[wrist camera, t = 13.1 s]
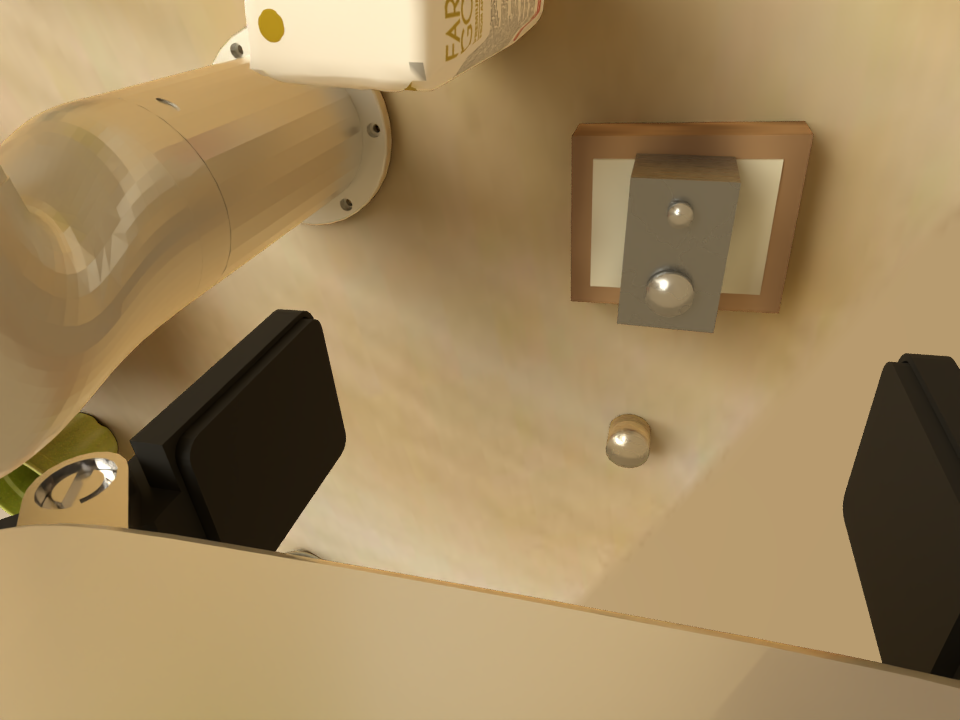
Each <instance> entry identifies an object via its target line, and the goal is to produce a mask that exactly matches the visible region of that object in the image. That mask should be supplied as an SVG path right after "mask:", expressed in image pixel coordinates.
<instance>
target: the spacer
mask: <svg viewBox="0 0 960 720" xmlns="http://www.w3.org/2000/svg"><path fill="white" fill-rule="evenodd" d="M650 434H651V430H650V426H649V424H648V423H647V422H646V421H645V420H644V419H643V418H641V417H639V416H637V415H632V414H624V415H620V416H618V417H616V418H615V419H614V420H613V421H612V422H611V424H610V427H609V433H608V439H607V445H606V454H607V456H608V458H609V459H610V460H611V461H612V462H613V463H615V464H616V465H618V466H621V467H625V468H634V467H638V466H640V465H642V464H643V463H645V462H646V460H647V459H648V456H649V446H650Z"/></svg>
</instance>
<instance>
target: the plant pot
mask: <svg viewBox="0 0 960 720" xmlns="http://www.w3.org/2000/svg"><path fill="white" fill-rule="evenodd" d="M117 451H118V446H117V442H116V440H115V438H114V436H113V434H112V433H111V432H110V430H109V429H108V428H106V427H104V426H101V425H100V424H99V423H97V421H96V420H95V418H94V417H92V416H89V415H87V414H84V413H78V414H77V415H76V416H75V417H74V418H73V419H72V420H71V421H70V422H69V424H68V425H67V426H66V427H65V428H64V429H63V430H62V431H61V432H60V433H59V434H58V435H57V436H56V437H55V438H54V439H53V440H52V441H50V442H49V443H48V444H47V445H46V446H45V447H43V448H42V449H41V450H40V451H39V452H37V453H36V454H35V455H34V456H33V457H31V458H30V459H29V460H27V461H26V462H25V463H24V464H22V465H21V466H20V467H18V468H17V469H15V470H13V471H12V472H10V473H9V474H7V475H5V476H4V477H2V478H1V479H0V508H2V509H3V510H4V511H5V512H7V513H8V514H10V515H11V516H12V515H15V514H18V513H19V512H20V508H21V503H22V499H23V496H24V494H25V492H26V490H27V488H28V487H29V486H30V485H31V484H32V483H33V482H34V481H35V479H36V478H38V477H39V476H40V475H42V474H43V473H44V472H46V471H47V470H48V469H50V468H52V467H54V466H56V465H58V464H60V463H61V462H63V461H66V460H68V459H71V458H74V457H77V456H79V455H84V454H88V453H93V452H112V453H116V454H117Z"/></svg>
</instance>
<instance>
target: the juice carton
mask: <svg viewBox="0 0 960 720" xmlns="http://www.w3.org/2000/svg"><path fill="white" fill-rule="evenodd" d="M244 1H245V14H246V22H247V30H248V38H249V46H250V69H252V70H254V71H255V72H257V73H259V74H261V75H263V76H269V77H270V78H272V79H275V80H277V81H280V82H284V83H293V84H302V85H311V86H324V87H338V88H352V89H358V90H369V89H374V90H380V91H385V92H400V91H403V90H413V91H433V90H435V89H436V88H438V87H440V86H442V85H443V84H445V83H447V82H449V81H450V80H452V79H454V78H456V77H457V76H459V75H461V74H462V73H464V72H466V71H468V70H469V69H471V68H473V67H474V66H476V65H478V64H480V63H481V62H483V61H485V60H486V59H488V58H490V57H492V56H493V55H495V54H497V53H498V52H500V51H502V50H504V49H505V48H507V47H509V46H510V45H512V44H513V43H515V42H516V41H517V40H518V39H519V38H520V37H522V36H523V35H524V34H525V33H526V32H527V31H528V30H529V29H530V28H532V27H533V26H534V25H535V24H536V23H537V21H538V20H539V19H540V16H541V14H542V12H543V5H544V0H244Z"/></svg>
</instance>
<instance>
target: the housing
mask: <svg viewBox="0 0 960 720" xmlns="http://www.w3.org/2000/svg"><path fill="white" fill-rule="evenodd" d="M740 186H741V180H740V175H739V170H738V166H737V161H736V157H725V156H699V155H672V154H645V153H637V154H636V158H635V162H634V166H633V170H632V174H631V178H630V189H629V200H628V211H627V222H626V233H625V243H624V254H623V265H622V276H621V287H620V298H619V308H618V319H617V324H627V325H637V326H648V327H658V328H668V329H678V330H688V331H698V332H708V333H714V327H715V322H716V316H717V311H718V305H719V300H720V295H721V289H722V284H723V278H724V273H725V267H726V262H727V257H728V251H729V246H730V240H731V235H732V229H733V224H734V219H735V213H736V208H737V202H738V197H739V191H740Z"/></svg>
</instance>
